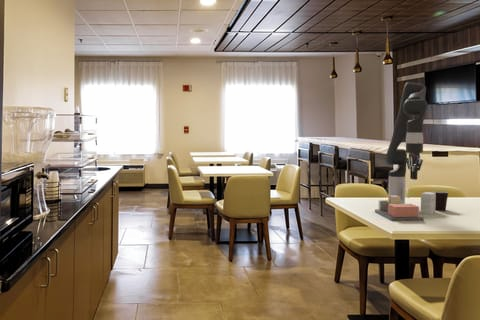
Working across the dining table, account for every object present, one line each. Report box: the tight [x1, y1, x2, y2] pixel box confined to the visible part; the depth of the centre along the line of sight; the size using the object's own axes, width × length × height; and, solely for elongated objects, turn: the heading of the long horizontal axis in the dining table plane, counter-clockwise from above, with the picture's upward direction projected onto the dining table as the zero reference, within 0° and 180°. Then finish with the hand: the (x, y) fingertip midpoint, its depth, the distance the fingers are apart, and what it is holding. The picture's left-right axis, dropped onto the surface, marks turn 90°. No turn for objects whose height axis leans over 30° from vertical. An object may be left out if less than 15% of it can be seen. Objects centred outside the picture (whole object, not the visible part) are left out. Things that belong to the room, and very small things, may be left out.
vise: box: [374, 199, 425, 222], centre depth 225 cm, size 24×16×6 cm
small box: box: [420, 191, 436, 215], centre depth 235 cm, size 8×6×10 cm
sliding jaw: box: [388, 203, 420, 217], centre depth 219 cm, size 9×12×5 cm
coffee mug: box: [431, 190, 449, 212], centre depth 243 cm, size 12×9×10 cm
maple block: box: [387, 195, 400, 204], centre depth 230 cm, size 5×4×8 cm
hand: (413, 179), depth 206 cm, fingers closed
